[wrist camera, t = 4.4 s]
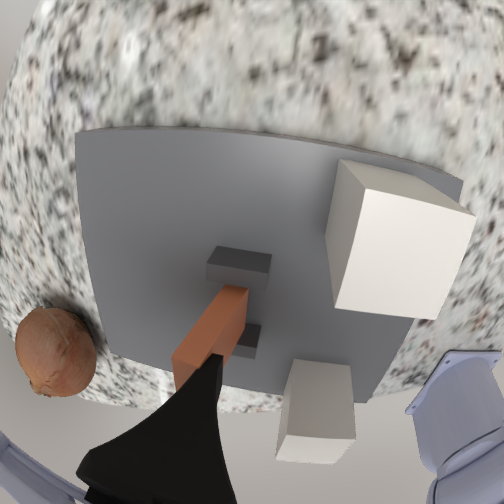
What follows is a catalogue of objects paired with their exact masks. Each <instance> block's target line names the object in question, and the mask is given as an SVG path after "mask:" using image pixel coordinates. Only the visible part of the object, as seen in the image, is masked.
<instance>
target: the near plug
mask: <svg viewBox="0 0 504 504" xmlns="http://www.w3.org/2000/svg"><path fill="white" fill-rule="evenodd" d="M476 219H477V217H476V216H475V215H474V214H472V213H471V212H470V211H468V210H467V209H465V208H464V207H463V206H461V205H460V204H458V203H457V202H455V201H454V200H452V199H451V198H449V197H448V196H446V195H445V194H443V193H442V192H440V191H439V190H437V189H436V188H434V187H432V186H431V185H429V184H428V183H426V182H424V181H423V180H421V179H420V178H418V177H416V176H414V175H410V174H406V173H402V172H398V171H394V170H390V169H386V168H382V167H378V166H373V165H369V164H364V163H360V162H355V161H350V160H345V159H340V158H339V162H338V168H337V174H336V180H335V185H334V191H333V196H332V202H331V207H330V212H329V217H328V222H327V227H326V232H325V242H326V248H327V255H328V261H329V268H330V276H331V283H332V291H333V299H334V307H335V308H339V309H346V310H353V311H361V312H369V313H377V314H385V315H393V316H402V317H411V318H421V319H431V320H436V318H437V316H438V314H439V312H440V310H441V308H442V306H443V304H444V302H445V299H446V297H447V295H448V293H449V291H450V288H451V286H452V284H453V282H454V279H455V277H456V275H457V272H458V270H459V267H460V265H461V262H462V260H463V257H464V254H465V252H466V249H467V246H468V243H469V241H470V238H471V235H472V232H473V229H474V226H475V222H476Z"/></svg>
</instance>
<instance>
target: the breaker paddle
mask: <svg viewBox="0 0 504 504" xmlns="http://www.w3.org/2000/svg"><path fill="white" fill-rule="evenodd" d="M248 293H249V288H244V287H239V286H233V285H227V284H225V285H224V287H223V288H222V289H221V291H220V292H219V293H218V295H217V296H216V297H215V299H214V300H213V301H212V303H211V304H210V305H209V307H208V308H207V309H206V310H205V312H204V313H203V314H202V316H201V317H200V318H199V320H198V321H197V322H196V324H195V325H194V326H193V328H192V329H191V330H190V332H189V333H188V334H187V336H186V337H185V338H184V340H183V341H182V342H181V344H180V345H179V346H178V348H177V349H176V350H175V352H174V353H173V354H172V356H171V361H172V368H173V375H174V381H175V387H176V392H177V391H178V390H179V388H180V387H181V386H182V385H183V384H184V383H185V382H186V381H187V380H188V378H189V377H190V376H191V375H192V374H193V372H194V371H195V370H196V369H199V368H200V367H201V366H202V365H203V363H204V362H205V361H206V360H207V358H208V357H209V356H210V355H211V354H212V353H214V354H219V355H224V357H223V368H224V366H225V364H226V363H227V361H228V359H229V357H230V355H231V353H232V351H233V350H234V348H235V346H236V344H237V342H238V340H239V338H240V336H241V335H242V333H243V331H244V329H245V321H246V312H247V302H248Z"/></svg>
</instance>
